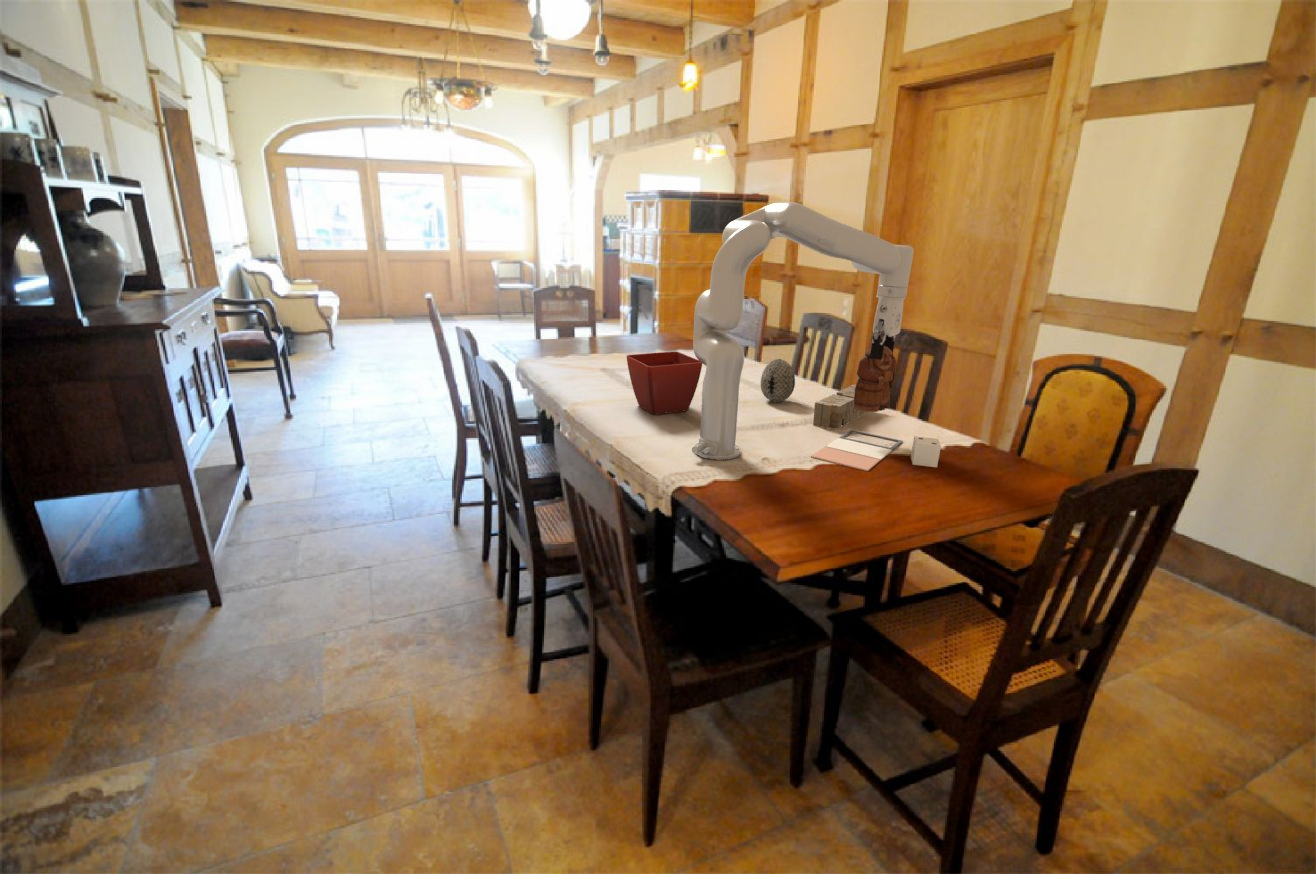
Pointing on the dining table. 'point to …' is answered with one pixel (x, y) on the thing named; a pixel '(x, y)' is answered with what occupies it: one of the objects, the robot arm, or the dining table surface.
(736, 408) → the robot arm
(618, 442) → the dining table surface
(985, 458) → the dining table surface
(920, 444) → the die
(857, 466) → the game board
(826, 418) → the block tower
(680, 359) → the plant pot
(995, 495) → the dining table surface
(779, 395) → the decorative egg
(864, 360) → the wooden figurine
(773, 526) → the dining table surface
